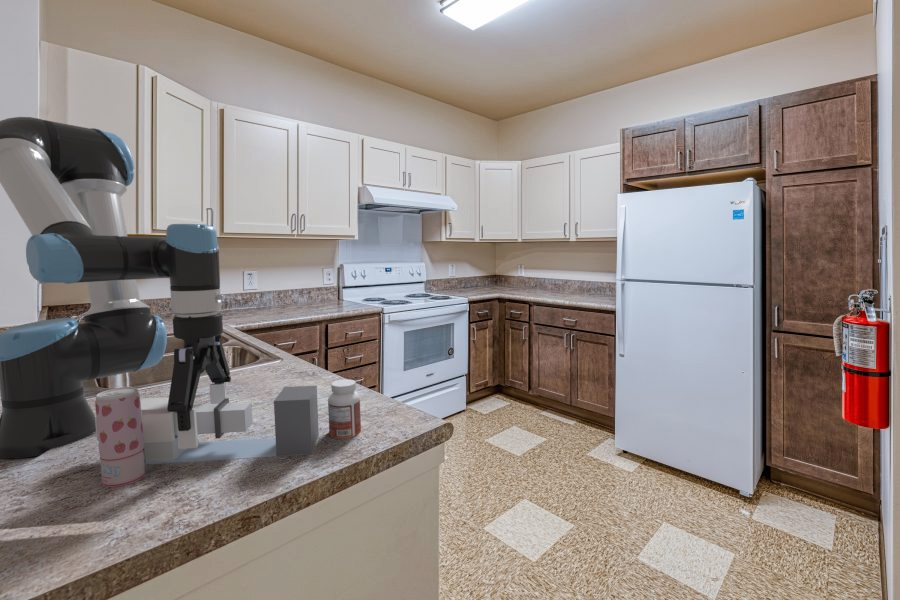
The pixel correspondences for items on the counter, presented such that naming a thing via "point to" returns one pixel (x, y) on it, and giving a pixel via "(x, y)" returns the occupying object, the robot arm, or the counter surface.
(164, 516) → the counter surface
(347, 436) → the pill bottle
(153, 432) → the sleeve
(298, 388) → the socket
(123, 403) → the beverage can
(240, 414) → the tube
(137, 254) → the robot arm
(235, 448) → the mounting board
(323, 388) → the counter surface
